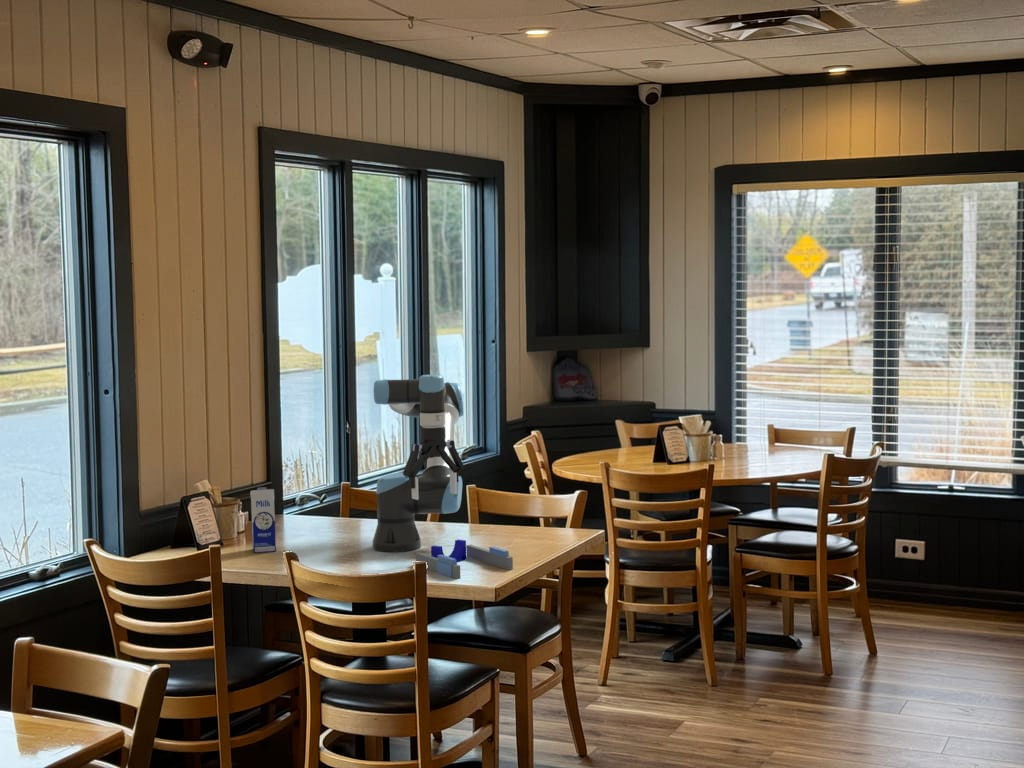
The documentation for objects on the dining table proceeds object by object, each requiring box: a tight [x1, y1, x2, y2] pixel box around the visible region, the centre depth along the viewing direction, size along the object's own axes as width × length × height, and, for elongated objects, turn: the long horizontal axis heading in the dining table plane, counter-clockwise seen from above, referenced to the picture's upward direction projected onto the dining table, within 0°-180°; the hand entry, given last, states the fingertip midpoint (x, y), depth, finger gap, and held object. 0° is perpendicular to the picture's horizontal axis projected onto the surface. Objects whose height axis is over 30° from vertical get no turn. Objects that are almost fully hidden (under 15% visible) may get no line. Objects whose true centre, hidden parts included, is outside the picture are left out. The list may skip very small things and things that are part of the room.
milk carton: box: [249, 486, 277, 554], centre depth 377 cm, size 7×7×20 cm
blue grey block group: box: [415, 544, 514, 580], centre depth 347 cm, size 23×19×5 cm
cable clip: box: [430, 538, 467, 565], centre depth 353 cm, size 12×4×6 cm, turn 141°
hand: (434, 496), depth 361 cm, fingers open, 13 cm apart
